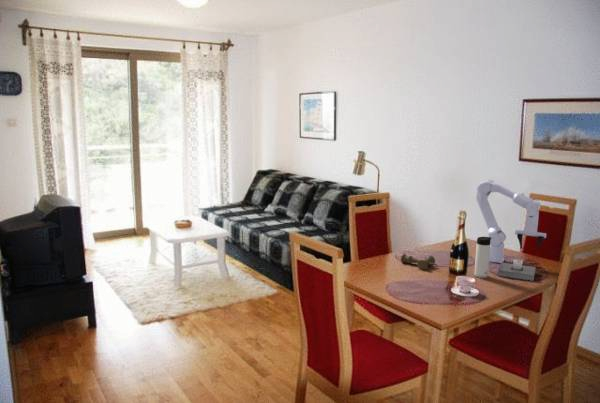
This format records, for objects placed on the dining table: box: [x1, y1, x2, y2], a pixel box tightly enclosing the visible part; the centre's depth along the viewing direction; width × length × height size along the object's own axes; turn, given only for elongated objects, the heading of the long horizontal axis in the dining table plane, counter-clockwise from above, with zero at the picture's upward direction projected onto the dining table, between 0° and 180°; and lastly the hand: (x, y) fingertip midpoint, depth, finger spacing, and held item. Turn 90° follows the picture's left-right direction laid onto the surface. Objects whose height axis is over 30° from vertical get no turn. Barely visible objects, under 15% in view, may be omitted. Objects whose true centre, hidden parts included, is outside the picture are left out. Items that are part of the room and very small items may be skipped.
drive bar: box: [512, 258, 524, 271], centre depth 244 cm, size 4×4×7 cm
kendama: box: [400, 253, 438, 271], centre depth 255 cm, size 6×10×20 cm
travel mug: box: [473, 236, 492, 279], centre depth 239 cm, size 6×7×20 cm
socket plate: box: [497, 262, 536, 282], centre depth 244 cm, size 16×14×3 cm
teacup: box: [450, 275, 480, 297], centre depth 220 cm, size 12×12×6 cm
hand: (529, 249), depth 254 cm, fingers open, 7 cm apart
